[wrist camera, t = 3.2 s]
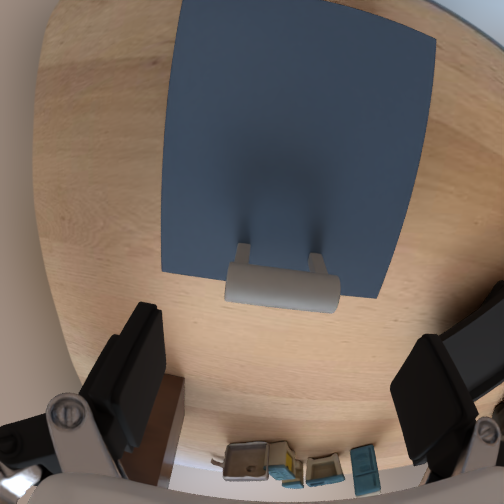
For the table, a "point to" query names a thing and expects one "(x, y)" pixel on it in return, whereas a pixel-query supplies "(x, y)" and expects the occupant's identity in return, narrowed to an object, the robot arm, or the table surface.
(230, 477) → the decorative sculpture
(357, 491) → the toy kitchen set
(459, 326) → the tray
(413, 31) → the box lid
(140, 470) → the stand
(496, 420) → the stone bowl
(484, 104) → the table surface
